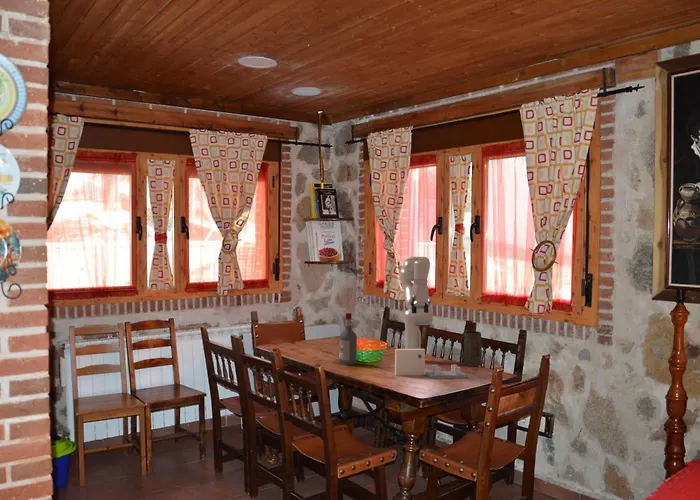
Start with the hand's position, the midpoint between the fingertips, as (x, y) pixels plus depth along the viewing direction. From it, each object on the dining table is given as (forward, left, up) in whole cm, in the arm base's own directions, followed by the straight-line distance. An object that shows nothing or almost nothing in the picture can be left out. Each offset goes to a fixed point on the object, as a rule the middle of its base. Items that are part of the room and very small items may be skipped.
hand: (420, 312), depth 342 cm
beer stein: (-17, +35, -33) cm, 51 cm away
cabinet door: (+9, -8, -33) cm, 35 cm away
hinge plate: (+14, +11, -33) cm, 37 cm away
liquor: (-23, -38, -33) cm, 55 cm away
